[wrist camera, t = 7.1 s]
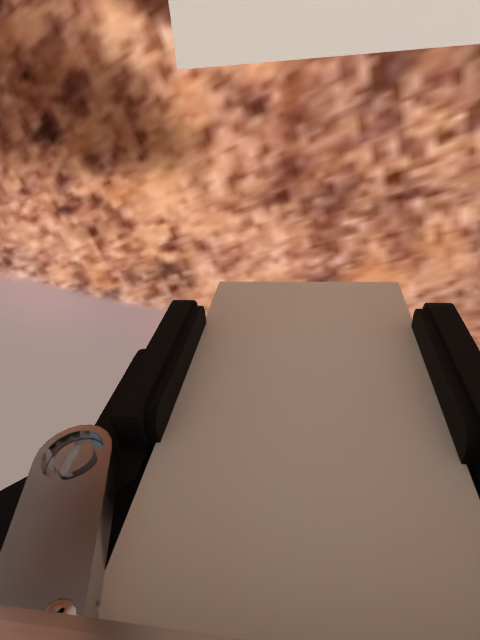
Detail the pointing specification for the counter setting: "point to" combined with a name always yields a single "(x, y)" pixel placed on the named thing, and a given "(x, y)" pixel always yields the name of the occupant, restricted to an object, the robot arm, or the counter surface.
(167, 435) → the domino
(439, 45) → the domino
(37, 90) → the counter surface
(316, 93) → the counter surface
